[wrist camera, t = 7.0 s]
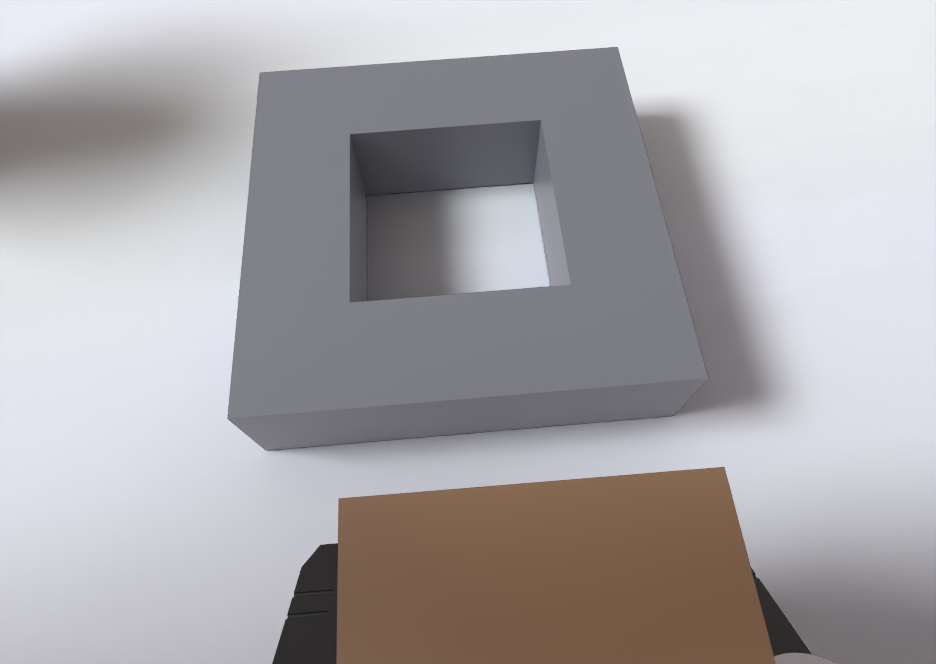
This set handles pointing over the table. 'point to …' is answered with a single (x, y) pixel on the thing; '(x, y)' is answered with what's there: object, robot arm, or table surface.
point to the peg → (550, 574)
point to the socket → (468, 314)
